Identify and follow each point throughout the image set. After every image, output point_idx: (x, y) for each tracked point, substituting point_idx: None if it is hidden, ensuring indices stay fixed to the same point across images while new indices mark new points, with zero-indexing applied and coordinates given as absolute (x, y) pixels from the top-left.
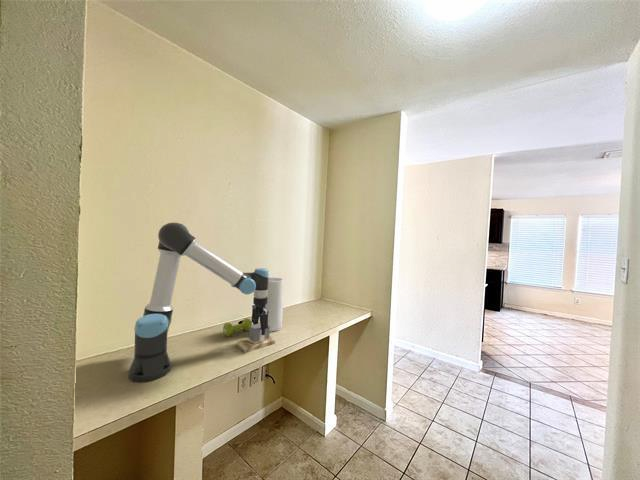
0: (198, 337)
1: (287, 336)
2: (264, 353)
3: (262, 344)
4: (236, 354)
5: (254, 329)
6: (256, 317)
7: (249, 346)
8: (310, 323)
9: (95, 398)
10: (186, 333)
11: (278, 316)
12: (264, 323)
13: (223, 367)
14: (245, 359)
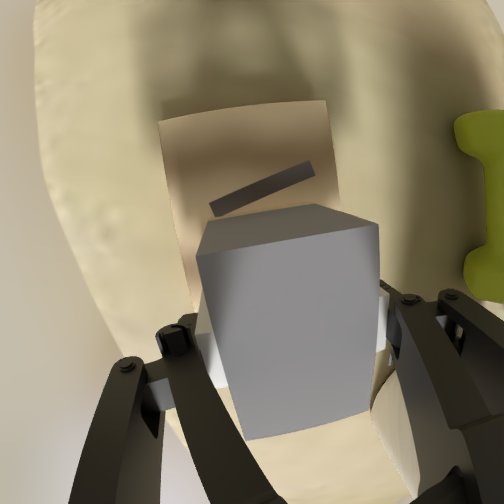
0: (467, 22)
1: (278, 436)
2: (97, 253)
3: (189, 281)
4: (167, 68)
5: (212, 250)
6: (424, 392)
7: (181, 164)
8: (340, 496)
9: None
10: (497, 22)
11: (402, 473)
12: (100, 427)
13: (71, 7)
14: (75, 112)
